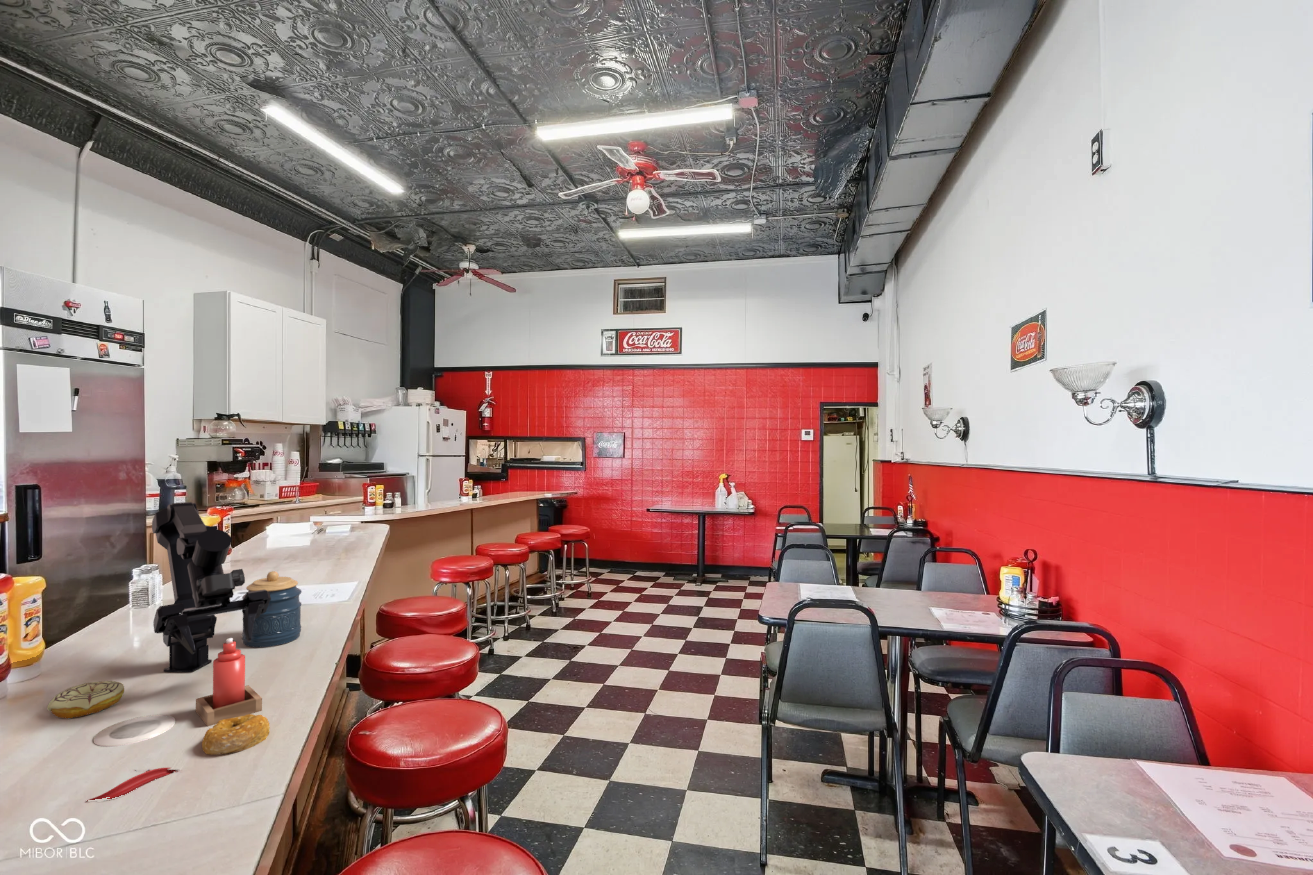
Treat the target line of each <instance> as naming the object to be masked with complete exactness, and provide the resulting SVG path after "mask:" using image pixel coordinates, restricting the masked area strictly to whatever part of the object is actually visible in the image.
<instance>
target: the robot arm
mask: <svg viewBox="0 0 1313 875" xmlns="http://www.w3.org/2000/svg"><path fill="white" fill-rule="evenodd" d="M151 530H152V533H153V534H155V536H156V542H157V544H159V545H160V546H161V547H163V548H164V549H165V550H166V551H167V558H168V563H169V564H168V565H169V572H170V579H171V586H172V591H173V592H172V593H173V599H174V603H171V604H165V605H160V606H159V607H157V609H156V611H155V615H154V619H153V625H152V626H153V632H154V634H162V639H163V640H162V641H163V643H164V645H165V646H166V647H169V650H168V652H169V653H168V654H169V656H168V657H169V658H168V659H169V660H168V662H169V664H168V667H165V668H164V669H163V672H164V673H192V672H194V671H197V670H198V669H200V668H202V667H205V666H207V665H208V664H211V663H213V662H212V661H213V660H212V659H210V658H209V650H210V649H209V644H208V639H213V638H214V636H215V630H216V629H215V628H216V625H217V621H218V619H217V618H218V617H217V616H215V615H220V614H227V613H231V612H237V611H241V613H242V625H243V624H244V630H245V635H246V639H247V641H248V642H250V641H251V638H252V632H253V626H254V620H255V619H256V618H258V617H259V616H260V614H263V613H265V612H266V610H267V607H268V605H269V602H270V600H271V597H270V593H269V592H268V591H267V590H258V591H252V592H248V591H247V592H246V593H245V594H246V595H245V594H244V595H245V598H244V600H243V599H239V600H233V601H231V599H232V598H233V596H234V591H233V590H235V589H236V587H242V586H243V585H244V584H245V583H246V580H245V579H246V578H245V573H244V570H243V568H241V569H240V568H239V569H233V570H232V571H230V572H228V573H225V572H224V568H223V564H225V562H226V559H227V556H228V554H229V550H230V548H231V544H232V540H233V539H232V536H231V535H230V534H229V533H227V532H226V531H224V530H220V529H218V526H217V525H206V524H205V522H204V521H203V519H202V518H201V516H200V512H199V509H198V508H197V504H196V502H192V501H186V502H173V503H171V504H168V505H167V507H165V508H163V509H162V510H160V511H157V512H155V514H154V516H153V518H152V522H151ZM243 615H244V617H243Z"/></svg>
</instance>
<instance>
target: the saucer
mask: <svg viewBox="0 0 1313 875" xmlns="http://www.w3.org/2000/svg"><path fill="white" fill-rule="evenodd" d="M175 723H176V719H175V717H173V716H172V715H167V714H152V715H151V714H150V715H144V716H138V717H135V718H134V717H133V718H130V719H129V718H128V719H126V720H123V721H120V722H117V723H114V724H112V725H109V726H107V727H106V728H104V729H102V730H100V731H99V732H98V733H97V734H95V735H94V737H93V743H94V744H95V745H97V746H100V747H119V746H127V745H132V744H136V743H140V742H143V741H147V740H150V739H152V738H156V737H158V736H159V735H162V734H163V733H165V732H168V731H169V730H170V729H172V727H174V725H175Z"/></svg>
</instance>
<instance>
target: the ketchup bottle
mask: <svg viewBox="0 0 1313 875" xmlns="http://www.w3.org/2000/svg"><path fill="white" fill-rule="evenodd" d="M233 640H234V638H233V637H229V638H226V640H225V642H223V643H222V645H223V646H222V651H220V652H218V653H217V657H216V658H215V659H214V660H212V661H213V662H212V663H213V665H212V694H213V709H216V708H220V707H224V706H227V705H231V704H235V703H238V702H242V701H245V686H246V655H245V654H242V650H241V649H239V648H237V642H236V641H233Z"/></svg>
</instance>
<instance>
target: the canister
mask: <svg viewBox="0 0 1313 875" xmlns="http://www.w3.org/2000/svg"><path fill="white" fill-rule="evenodd" d="M298 584H299V582H298V581H297V580H295V579H293V578H292V577H289V576H280V575H279V573H278V572H277V571H276V570H275V571H273V570H272V571H269V572H268V573H267V574H266V577H264V578H260V579H257V580H254V581H253V582H252V583H250V584H248V585H247V586H246V587H245V588H246V591H247V592H252V591H258V590H267V591H268V592H269V593H270V597H271V600H270V602H269V605H268V607H267V610H266V612H265V613H263V614H260V616H259V617H258V618H256V619H255V620H254V626H253V632H252V638H251V641H250V642H248V641H247V639H246V635H245V630H244V624H243V623H242V634H241V640H242V644H243V645H244V646H246V647H249V648H268V647H275V646H280V645H284V644H287V643H291V642H293V641H295V640H298V638H299V637H300V635H301V632H302V625H301V617H302V616H301V607H302V602H301V601H300V595H301V594H302V593H303V592H302V591H303V590H301V588H299V587H297V585H298ZM245 595H246V593H245V594H243V596H241V598H242V599H241V600H244V598H245ZM243 617H244V615H243V614H242V618H243Z"/></svg>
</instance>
